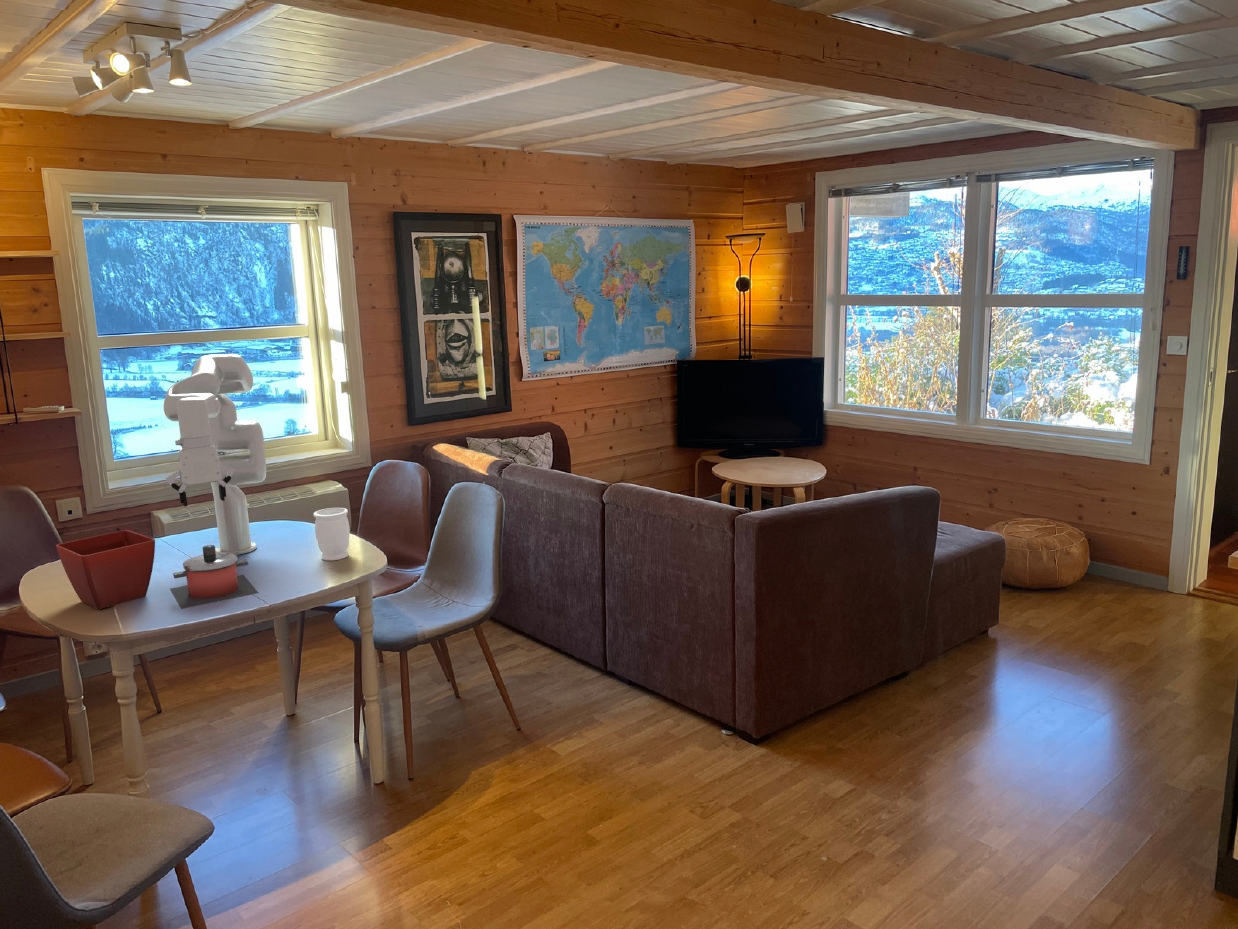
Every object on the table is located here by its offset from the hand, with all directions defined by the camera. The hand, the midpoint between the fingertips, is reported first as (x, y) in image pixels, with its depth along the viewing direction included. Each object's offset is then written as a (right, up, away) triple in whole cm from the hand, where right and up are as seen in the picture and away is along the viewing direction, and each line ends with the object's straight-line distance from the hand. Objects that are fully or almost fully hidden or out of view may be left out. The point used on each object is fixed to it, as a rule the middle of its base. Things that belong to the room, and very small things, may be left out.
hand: (204, 502), depth 252 cm
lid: (0, -17, +3) cm, 18 cm away
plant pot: (-26, -27, +2) cm, 38 cm away
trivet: (+1, -26, +5) cm, 26 cm away
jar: (+26, -19, +35) cm, 47 cm away
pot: (+1, -25, +5) cm, 26 cm away
